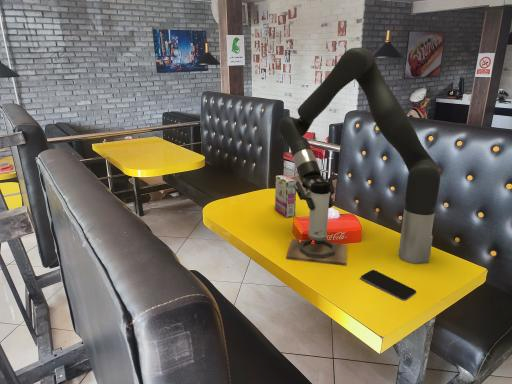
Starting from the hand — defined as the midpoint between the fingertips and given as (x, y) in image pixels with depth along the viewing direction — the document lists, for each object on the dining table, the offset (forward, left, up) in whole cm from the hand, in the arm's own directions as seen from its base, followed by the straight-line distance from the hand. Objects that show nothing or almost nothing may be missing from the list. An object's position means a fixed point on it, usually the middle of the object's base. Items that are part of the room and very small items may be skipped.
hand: (322, 208), depth 123 cm
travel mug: (+1, -1, -12) cm, 12 cm away
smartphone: (-21, +15, -18) cm, 31 cm away
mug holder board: (+1, -1, -17) cm, 17 cm away
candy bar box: (+18, -36, -18) cm, 44 cm away
